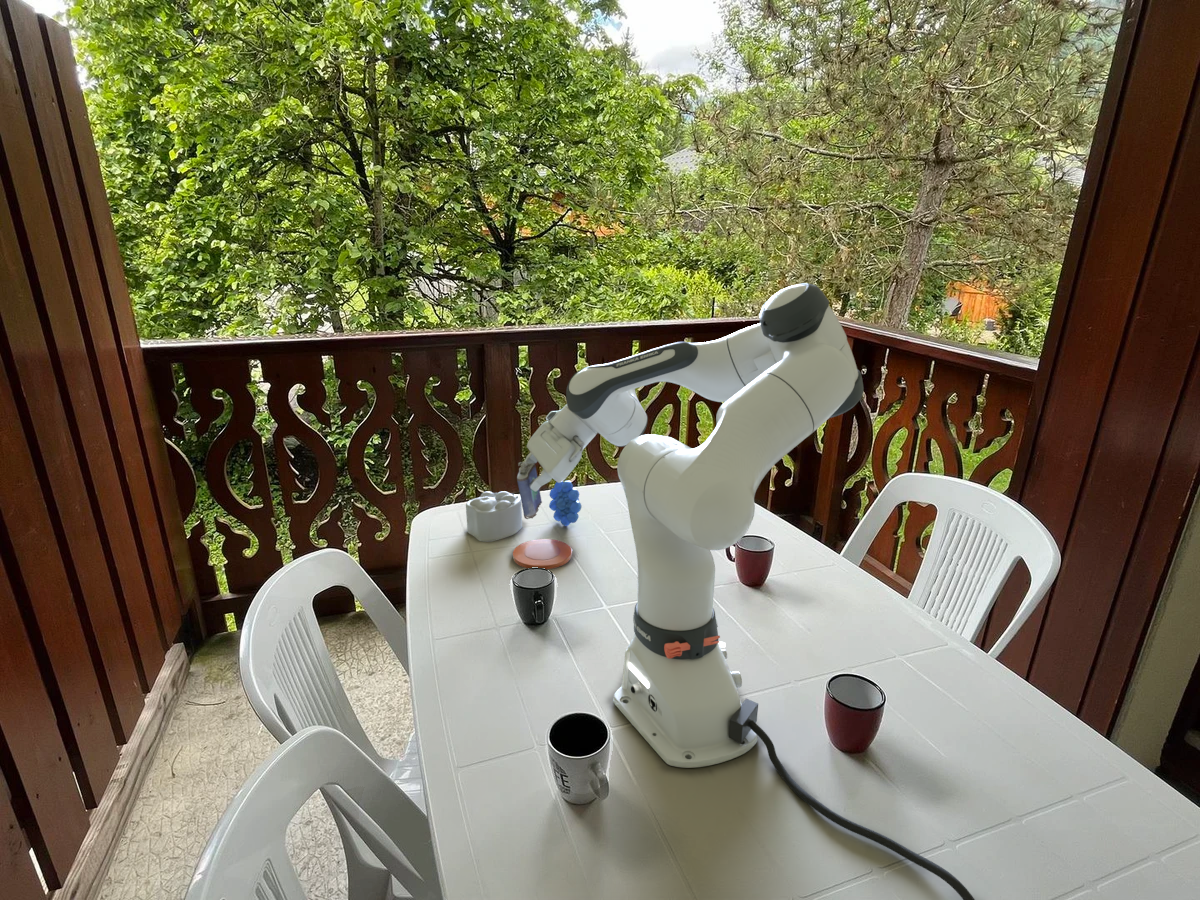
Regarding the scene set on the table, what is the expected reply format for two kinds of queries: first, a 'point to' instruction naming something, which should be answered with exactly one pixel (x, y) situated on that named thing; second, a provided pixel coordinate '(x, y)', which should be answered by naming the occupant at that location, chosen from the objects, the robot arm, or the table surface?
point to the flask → (528, 490)
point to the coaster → (542, 553)
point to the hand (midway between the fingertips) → (526, 480)
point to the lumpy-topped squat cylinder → (494, 515)
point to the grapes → (565, 503)
